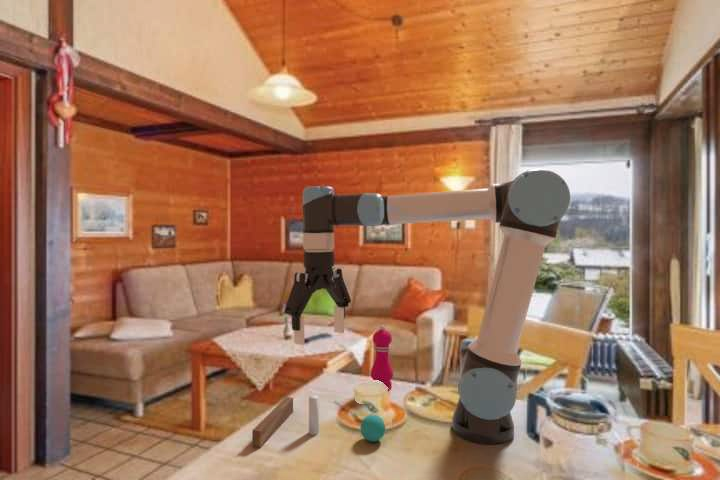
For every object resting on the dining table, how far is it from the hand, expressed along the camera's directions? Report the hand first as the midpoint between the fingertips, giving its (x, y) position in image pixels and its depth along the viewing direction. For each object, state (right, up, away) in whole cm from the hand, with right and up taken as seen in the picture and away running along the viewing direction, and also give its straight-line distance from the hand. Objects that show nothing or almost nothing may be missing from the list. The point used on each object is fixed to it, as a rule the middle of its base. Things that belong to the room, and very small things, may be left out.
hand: (320, 337), depth 106 cm
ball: (+13, -21, -1) cm, 25 cm away
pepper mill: (+17, -23, +33) cm, 44 cm away
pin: (-2, -24, +2) cm, 24 cm away
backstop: (-12, -24, +5) cm, 27 cm away
